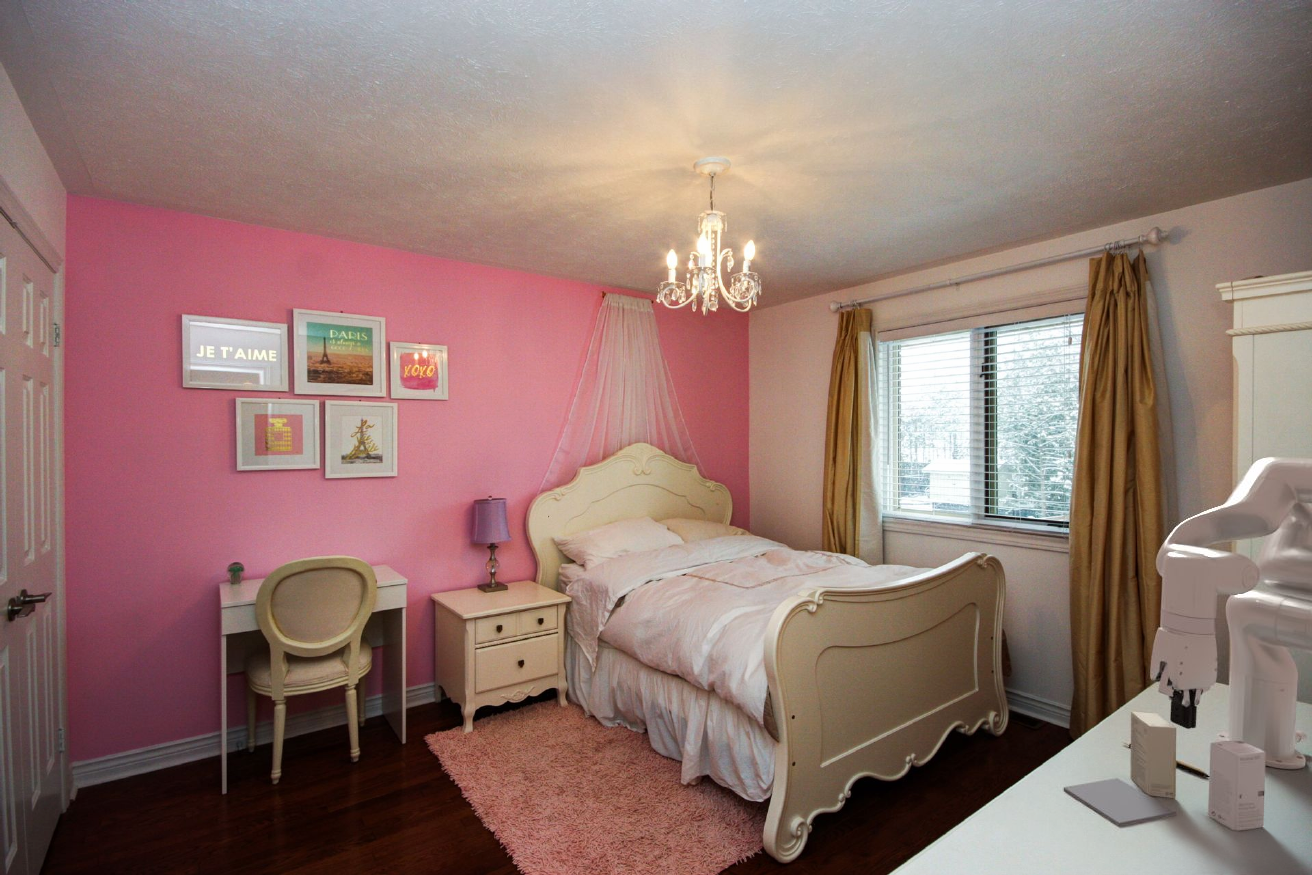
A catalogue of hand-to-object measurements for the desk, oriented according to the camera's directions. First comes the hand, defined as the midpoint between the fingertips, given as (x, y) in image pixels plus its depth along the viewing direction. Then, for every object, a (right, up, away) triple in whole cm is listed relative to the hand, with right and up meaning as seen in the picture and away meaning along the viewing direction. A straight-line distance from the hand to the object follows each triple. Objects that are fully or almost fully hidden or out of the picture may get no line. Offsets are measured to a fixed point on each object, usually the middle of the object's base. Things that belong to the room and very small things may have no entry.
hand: (1182, 724), depth 113 cm
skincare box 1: (-7, -11, -1) cm, 13 cm away
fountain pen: (+2, -11, +8) cm, 13 cm away
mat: (-16, -10, -6) cm, 20 cm away
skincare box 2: (0, -11, -11) cm, 15 cm away
